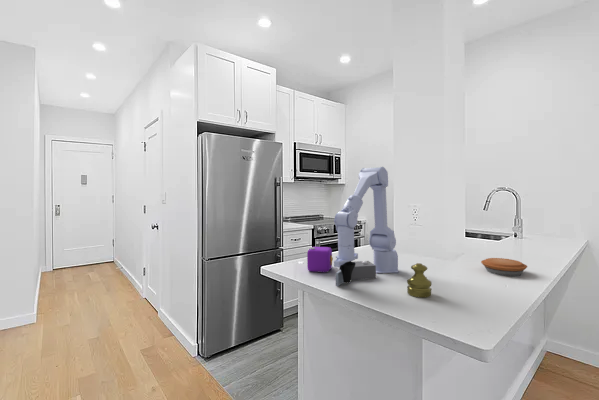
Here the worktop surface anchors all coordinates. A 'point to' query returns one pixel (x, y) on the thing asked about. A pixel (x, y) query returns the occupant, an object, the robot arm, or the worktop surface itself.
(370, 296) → the worktop surface
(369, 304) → the worktop surface
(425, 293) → the olive chess piece
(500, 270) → the pie
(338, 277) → the door
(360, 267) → the block
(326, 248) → the toy camera
